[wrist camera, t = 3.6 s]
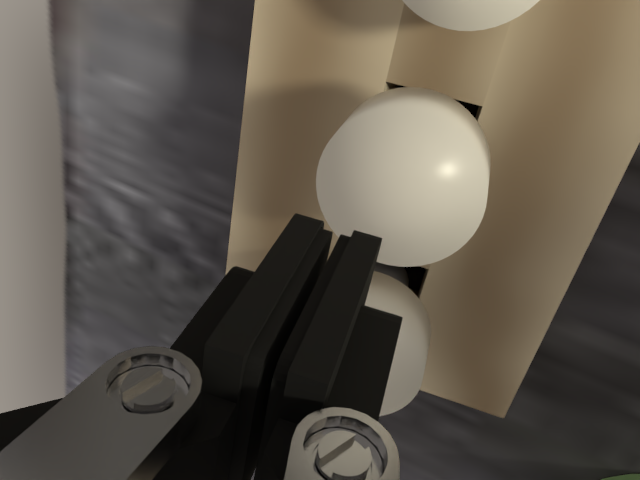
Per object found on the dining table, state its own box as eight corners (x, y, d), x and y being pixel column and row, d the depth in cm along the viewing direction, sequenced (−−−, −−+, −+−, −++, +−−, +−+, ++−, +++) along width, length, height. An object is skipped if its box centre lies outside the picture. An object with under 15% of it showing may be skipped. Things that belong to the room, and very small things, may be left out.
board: (937, -567, 12) (1052, -698, 9) (504, 368, 25) (503, 418, 23) (366, -607, 14) (332, -725, 11) (247, 284, 27) (220, 322, 25)
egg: (455, 247, 21) (441, 331, 17) (423, 340, 23) (403, 434, 19) (338, 212, 22) (295, 285, 17) (318, 305, 24) (275, 389, 20)
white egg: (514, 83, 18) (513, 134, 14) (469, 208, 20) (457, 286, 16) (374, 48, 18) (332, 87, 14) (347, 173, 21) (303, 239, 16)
